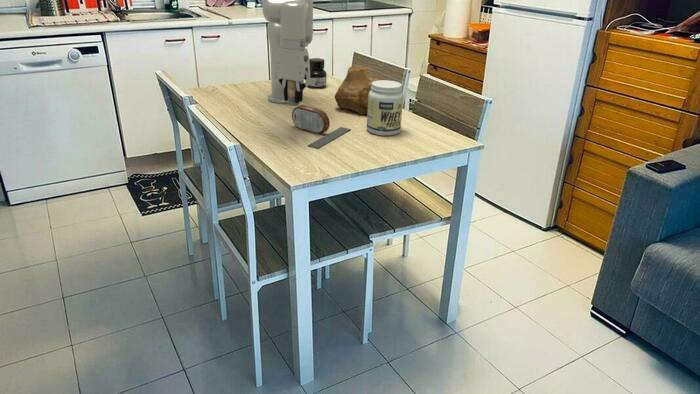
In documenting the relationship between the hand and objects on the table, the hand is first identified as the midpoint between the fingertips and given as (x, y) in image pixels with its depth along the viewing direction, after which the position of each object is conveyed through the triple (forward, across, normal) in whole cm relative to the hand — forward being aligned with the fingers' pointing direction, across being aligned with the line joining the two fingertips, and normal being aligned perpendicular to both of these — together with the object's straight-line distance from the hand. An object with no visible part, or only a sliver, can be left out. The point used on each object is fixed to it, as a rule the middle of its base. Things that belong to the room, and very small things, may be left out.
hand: (293, 100), depth 173 cm
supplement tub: (+13, -23, -23) cm, 35 cm away
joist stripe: (+13, -11, -6) cm, 18 cm away
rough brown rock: (+14, -2, -41) cm, 43 cm away
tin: (+13, -1, -9) cm, 16 cm away
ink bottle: (+15, +28, -61) cm, 69 cm away
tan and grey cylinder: (+1, 0, 0) cm, 1 cm away
